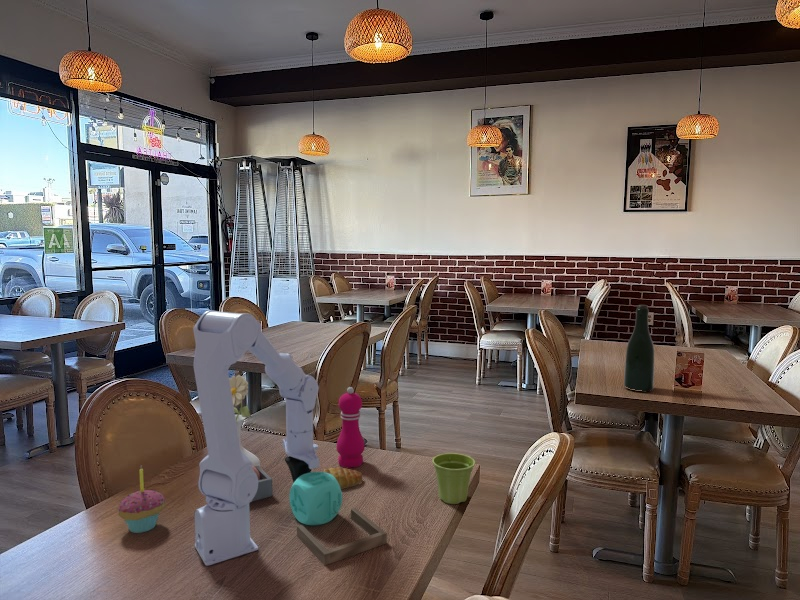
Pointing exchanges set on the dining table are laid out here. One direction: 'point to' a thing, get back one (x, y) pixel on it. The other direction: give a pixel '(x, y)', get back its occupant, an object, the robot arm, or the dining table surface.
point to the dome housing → (263, 485)
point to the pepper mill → (350, 431)
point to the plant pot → (453, 476)
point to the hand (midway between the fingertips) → (300, 489)
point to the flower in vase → (238, 394)
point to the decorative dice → (315, 498)
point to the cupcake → (141, 508)
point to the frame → (348, 549)
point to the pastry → (345, 476)
